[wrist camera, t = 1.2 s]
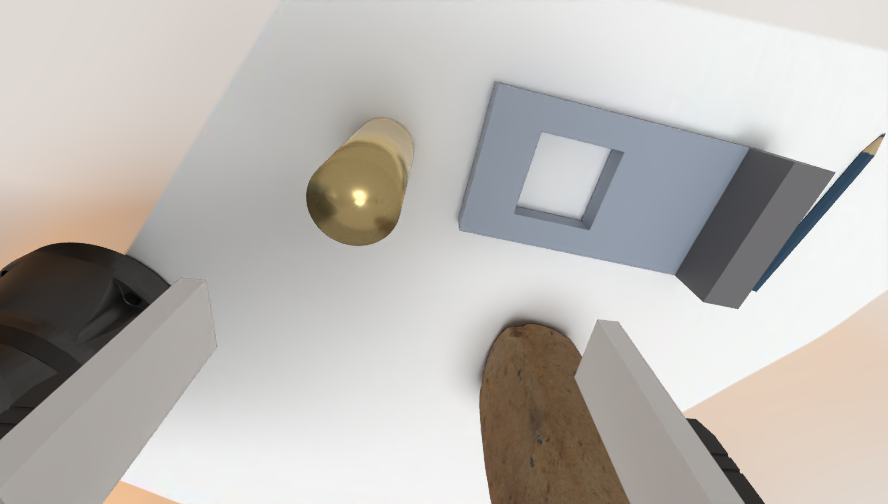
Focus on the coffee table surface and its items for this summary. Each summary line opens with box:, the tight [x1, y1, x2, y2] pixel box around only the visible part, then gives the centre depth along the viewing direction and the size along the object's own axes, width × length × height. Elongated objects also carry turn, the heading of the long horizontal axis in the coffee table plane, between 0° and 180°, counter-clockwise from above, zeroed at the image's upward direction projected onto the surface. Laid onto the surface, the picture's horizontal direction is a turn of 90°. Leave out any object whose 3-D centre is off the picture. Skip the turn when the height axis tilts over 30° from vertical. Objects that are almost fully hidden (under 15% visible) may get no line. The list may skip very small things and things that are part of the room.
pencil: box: [752, 134, 885, 292], centre depth 33 cm, size 1×1×15 cm
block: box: [479, 324, 630, 504], centre depth 31 cm, size 11×8×20 cm
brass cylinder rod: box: [306, 118, 414, 246], centre depth 24 cm, size 5×5×12 cm
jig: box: [458, 82, 836, 309], centre depth 28 cm, size 22×11×6 cm, turn 77°
